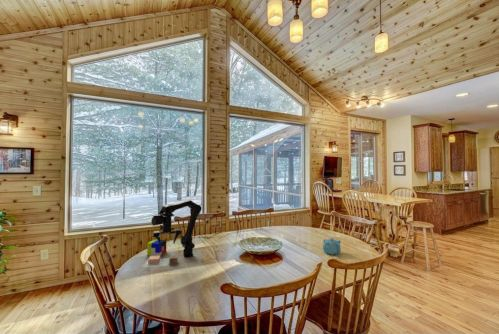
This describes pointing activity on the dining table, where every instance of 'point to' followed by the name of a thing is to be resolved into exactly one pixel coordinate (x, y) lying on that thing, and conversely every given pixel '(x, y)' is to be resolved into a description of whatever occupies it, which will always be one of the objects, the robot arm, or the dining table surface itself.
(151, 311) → the dining table surface
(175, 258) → the walnut cube
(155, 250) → the puzzle toy
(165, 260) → the grey flat slab
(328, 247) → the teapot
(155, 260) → the terracotta base
